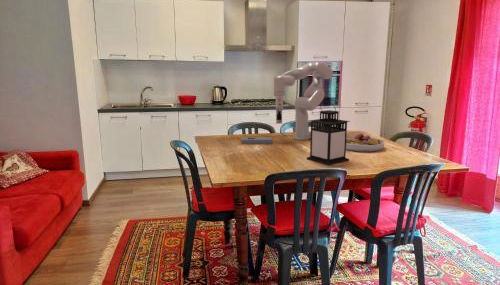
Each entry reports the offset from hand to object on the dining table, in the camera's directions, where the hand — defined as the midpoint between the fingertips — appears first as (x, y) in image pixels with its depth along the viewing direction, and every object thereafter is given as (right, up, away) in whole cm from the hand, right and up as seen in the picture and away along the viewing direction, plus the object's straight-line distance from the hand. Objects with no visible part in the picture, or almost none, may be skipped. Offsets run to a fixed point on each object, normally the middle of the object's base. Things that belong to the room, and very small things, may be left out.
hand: (279, 119), depth 262 cm
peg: (0, -3, +1) cm, 3 cm away
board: (-16, -17, +4) cm, 23 cm away
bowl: (+54, -21, -15) cm, 60 cm away
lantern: (+25, -27, -47) cm, 60 cm away
